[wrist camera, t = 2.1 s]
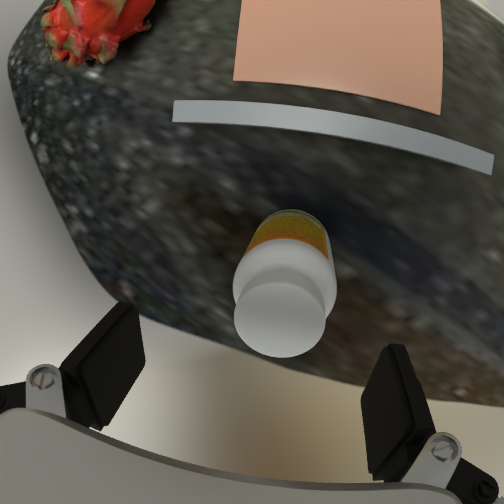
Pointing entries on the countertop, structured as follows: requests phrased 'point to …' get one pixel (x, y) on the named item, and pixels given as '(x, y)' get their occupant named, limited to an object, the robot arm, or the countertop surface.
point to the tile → (345, 48)
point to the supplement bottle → (285, 285)
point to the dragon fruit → (92, 28)
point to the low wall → (333, 128)
